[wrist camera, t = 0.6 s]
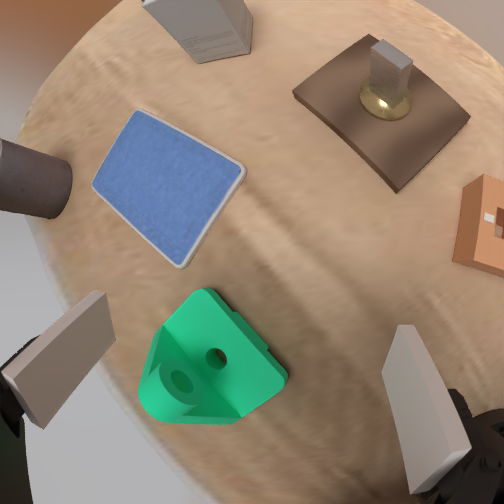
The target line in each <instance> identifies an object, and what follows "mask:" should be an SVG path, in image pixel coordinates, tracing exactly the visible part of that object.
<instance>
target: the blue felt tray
mask: <svg viewBox="0 0 504 504" xmlns="http://www.w3.org/2000/svg"><path fill="white" fill-rule="evenodd" d="M246 174H247V169H246V167H245V166H244V165H243V164H242V163H240V162H238V161H237V160H235V159H233V158H232V157H230V156H228V155H226V154H225V153H223V152H221V151H220V150H218V149H216V148H214V147H213V146H211V145H209V144H207V143H205V142H204V141H202V140H200V139H198V138H197V137H195V136H193V135H191V134H189V133H187V132H185V131H184V130H182V129H180V128H178V127H176V126H174V125H172V124H170V123H168V122H167V121H165V120H163V119H161V118H160V117H158V116H155V115H153V114H151V113H149V112H147V111H145V110H143V109H137V110H135V111H134V112H133V114H132V115H131V117H130V118H129V120H128V121H127V123H126V125H125V126H124V128H123V129H122V131H121V132H120V134H119V135H118V137H117V139H116V140H115V142H114V144H113V145H112V147H111V148H110V150H109V152H108V154H107V155H106V157H105V159H104V160H103V162H102V164H101V166H100V168H99V169H98V171H97V173H96V175H95V177H94V179H93V181H92V189H93V190H94V191H95V192H96V193H97V194H98V195H99V196H100V197H101V198H102V199H103V200H104V201H105V202H106V203H107V204H108V205H109V206H110V207H111V208H112V209H113V210H114V211H115V212H116V213H117V214H118V215H120V216H121V217H122V218H123V219H124V220H125V221H126V222H127V223H128V224H129V225H130V226H131V227H132V228H133V229H134V230H135V231H136V232H137V233H138V234H139V235H141V236H142V237H143V238H144V239H145V240H146V241H147V242H148V243H149V244H150V245H151V246H153V247H154V248H155V249H156V250H157V251H158V252H159V253H160V254H161V255H163V256H164V257H165V258H166V259H167V260H168V261H169V262H170V263H172V264H173V265H174V266H175V267H177V268H179V269H183V268H185V267H187V265H188V264H189V263H190V261H191V260H192V258H193V257H194V255H195V253H196V252H197V250H198V249H199V247H200V246H201V244H202V242H203V241H204V239H205V238H206V236H207V235H208V233H209V232H210V230H211V229H212V227H213V226H214V224H215V223H216V221H217V219H218V218H219V216H220V215H221V213H222V212H223V210H224V209H225V207H226V206H227V204H228V203H229V201H230V200H231V198H232V197H233V195H234V194H235V192H236V191H237V189H238V188H239V186H240V185H241V183H242V181H243V180H244V178H245V177H246Z"/></svg>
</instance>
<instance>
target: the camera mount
mask: <svg viewBox="0 0 504 504" xmlns="http://www.w3.org/2000/svg"><path fill="white" fill-rule="evenodd" d="M217 348H218V349H220V350H222V351H223V352H224V353H225V355H226V358H227V362H223V361H222V360H220V359H219V358H218V356H217V353H216V349H217ZM268 348H269V347H268V346H267V344H266V343H265V342H264V341H263V340H262V339H261V338H260V337H259V336H258V334H257V333H256V332H255V331H254V330H253V329H252V328H251V327H250V326H249V324H248V323H247V322H246V321H245V320H244V319H243V318H242V316H241V315H240V314H239V313H238V312H237V311H236V312H233V311H232V310H231V309H230V308H229V307H228V306H227V305H226V303H225V302H224V301H223V300H222V299H221V298H220V296H219V295H218V294H217V293H216V292H215V291H214V290H213V289H211V288H204V289H198V290H196V291H194V292H193V293H192V294H191V295H190V296H189V298H188V299H187V300H186V301H185V302H184V303H183V304H182V305H181V306H180V307H179V308H178V309H177V310H176V311H175V312H174V313H173V315H172V316H171V317H170V318H169V319H168V320H167V321H166V322H165V323H164V324H163V325H162V326H161V327H160V328H159V329H158V331H157V332H156V333H155V334H154V337H153V340H152V344H151V347H150V350H149V353H148V357H147V360H146V363H145V366H144V370H143V373H142V377H141V380H140V384H139V387H138V396H139V400H140V402H141V404H142V406H143V407H144V409H145V410H146V411H147V412H148V413H149V414H150V415H151V416H152V417H154V418H156V419H157V420H160V421H162V422H168V423H184V424H217V425H227V424H233V423H235V422H236V421H238V420H239V419H241V418H242V417H244V416H245V415H247V414H248V413H250V412H251V411H253V410H254V409H256V408H257V407H258V406H260V405H261V404H263V403H264V402H266V401H267V400H268V399H270V398H271V397H273V396H274V395H275V394H277V393H278V392H279V391H281V390H282V389H283V387H284V385H285V384H286V382H287V380H288V374H287V372H286V370H285V369H284V368H283V367H282V366H281V365H280V364H279V363H278V362H277V361H276V360H275V358H274V357H273V356H272V355H271V354H270V353H269V352H268V351H267V349H268Z"/></svg>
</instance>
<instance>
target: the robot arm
mask: <svg viewBox="0 0 504 504" xmlns="http://www.w3.org/2000/svg"><path fill="white" fill-rule="evenodd" d="M115 340H116V338H115V333H114V329H113V325H112V320H111V316H110V311H109V306H108V301H107V296H106V292H101V291H96V290H93V291H92V292H91V293H90V294H88V295H87V296H86V297H85V298H83V299H82V300H81V301H80V302H79V303H77V304H76V305H75V306H74V307H73V308H71V309H70V310H69V311H68V312H67V313H65V314H64V315H63V316H62V317H61V318H60V319H58V320H57V321H56V322H55V323H54V324H53V325H51V326H50V327H49V328H48V329H47V330H46V331H45V332H44V333H42V334H41V335H39V336H37V337H35V338H33V339H31V340H30V341H28V342H27V343H26V344H25V345H24V346H23V348H21V349H20V350H18V351H17V353H15V354H14V355H13V356H12V357H11V358H10V359H9V360H8V361H7V362H6V363H4V364H3V365H2V366H1V367H0V504H33V500H32V494H31V489H30V482H29V475H28V467H27V457H26V446H25V426H24V424H25V423H24V419H23V418H22V415H23V414H24V413H26V415H27V416H28V418H29V419H30V421H31V422H32V423H34V424H35V425H37V426H38V427H40V428H42V429H44V428H45V427H46V426H47V424H48V423H49V422H50V421H51V419H52V418H53V417H54V415H55V414H56V413H57V412H58V410H59V409H60V408H61V406H62V405H63V404H64V403H65V401H66V400H67V399H68V397H69V396H70V395H71V394H72V392H73V391H74V390H75V389H76V387H77V386H78V385H79V384H80V382H81V381H82V380H83V379H84V377H85V376H86V375H87V374H88V372H89V371H90V370H91V369H92V368H93V366H94V365H95V364H96V363H97V362H98V360H99V359H100V358H101V357H102V356H103V354H104V353H105V352H106V351H107V350H108V348H109V347H110V346H111V345H112V344H113V343H114V341H115ZM381 374H382V377H383V381H384V384H385V388H386V391H387V395H388V399H389V402H390V406H391V410H392V414H393V418H394V421H395V425H396V430H397V434H398V438H399V442H400V447H401V451H402V456H403V460H404V465H405V470H406V475H407V480H408V486H409V491H410V495H411V494H416V493H417V496H418V500H419V503H420V504H504V409H499V410H493V411H490V412H487V413H484V414H482V415H479V416H477V417H475V418H473V417H472V414H471V412H470V410H469V409H468V405H467V403H466V401H465V399H464V397H463V396H462V395H461V394H460V393H459V392H458V391H457V390H456V389H447V388H446V386H445V384H444V382H443V380H442V378H441V376H440V374H439V372H438V370H437V368H436V366H435V364H434V362H433V360H432V358H431V356H430V354H429V352H428V350H427V348H426V347H425V345H424V343H423V341H422V339H421V337H420V335H419V334H418V332H417V330H416V328H415V326H414V325H398V327H397V330H396V333H395V336H394V339H393V342H392V345H391V348H390V350H389V353H388V356H387V358H386V361H385V364H384V366H383V369H382V371H381Z"/></svg>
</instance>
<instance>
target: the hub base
mask: <svg viewBox="0 0 504 504" xmlns="http://www.w3.org/2000/svg"><path fill="white" fill-rule="evenodd" d="M292 92H293V94H294V97H295V98H296V99H297V100H298V101H299V102H300V103H302V104H303V105H304V106H305V107H307V108H308V109H309V110H310V111H311V112H313V113H314V114H315V115H316V116H317V117H318V118H320V119H321V120H322V121H323V122H324V123H325V124H326V125H328V126H329V127H330V128H331V129H332V130H333V131H334V132H335V133H336V134H338V135H339V136H340V137H341V138H342V139H343V140H344V141H345V142H346V143H347V144H348V145H349V146H350V147H352V148H353V149H354V150H355V151H356V152H357V153H358V154H359V155H360V156H361V157H362V158H363V159H364V160H365V161H366V162H367V163H368V164H369V165H370V166H371V167H372V168H373V169H374V170H375V171H376V172H377V173H378V174H379V176H380V177H381V178H382V179H383V180H384V181H385V182H386V183H387V184H388V185H389V186H390V187H391V188H392V189H393V191H394V192H395V193H397V192H399V191H400V190H401V189H402V188H403V187H404V186H405V185H406V184H407V183H408V182H409V181H410V180H411V179H412V178H413V177H414V176H415V175H416V174H417V173H418V172H419V171H420V170H421V169H422V168H423V167H424V166H425V165H426V164H427V163H428V162H429V161H430V160H431V159H432V158H433V157H434V156H435V155H436V154H437V153H438V152H439V151H440V150H441V149H442V148H443V147H444V146H445V145H446V144H447V143H448V142H449V141H450V140H451V139H452V138H453V137H454V136H455V135H456V133H457V132H458V131H459V130H460V129H461V128H462V127H463V126H464V125H465V124H466V123H467V121H468V120H469V119H470V117H471V116H470V115H469V114H468V113H467V112H466V111H465V110H464V109H463V108H462V107H461V106H460V105H459V104H458V103H457V102H456V101H455V100H454V99H453V98H452V97H451V96H450V95H448V94H447V93H446V92H445V91H444V90H443V89H442V88H441V87H440V86H438V85H437V84H436V83H435V82H434V81H433V80H431V79H430V78H429V77H428V76H427V75H425V74H424V73H423V72H422V71H420V70H419V69H418V68H417V67H415V66H414V65H413V60H412V59H411V58H409V57H408V56H407V55H405V54H404V53H403V52H401V51H400V50H398V49H397V48H395V47H394V46H393V45H391V44H390V43H388V42H387V41H385V40H384V39H382V40H381V41H379V40H378V39H376V38H375V37H373V36H371V35H370V34H368V35H366V36H365V37H363V38H362V39H360V40H359V41H357V42H356V43H354V44H353V45H352V46H350V47H349V48H347V49H346V50H345V51H343V52H342V53H340V54H339V55H338V56H336V57H335V58H333V59H332V60H331V61H329V62H328V63H327V64H325V65H324V66H323V67H321V68H320V69H319V70H317V71H316V72H315V73H314V74H312V75H311V76H310V77H308V78H307V79H306V80H305V81H303V82H302V83H301V84H300V85H298V86H297V87H296V88H295V89H293V90H292Z"/></svg>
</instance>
